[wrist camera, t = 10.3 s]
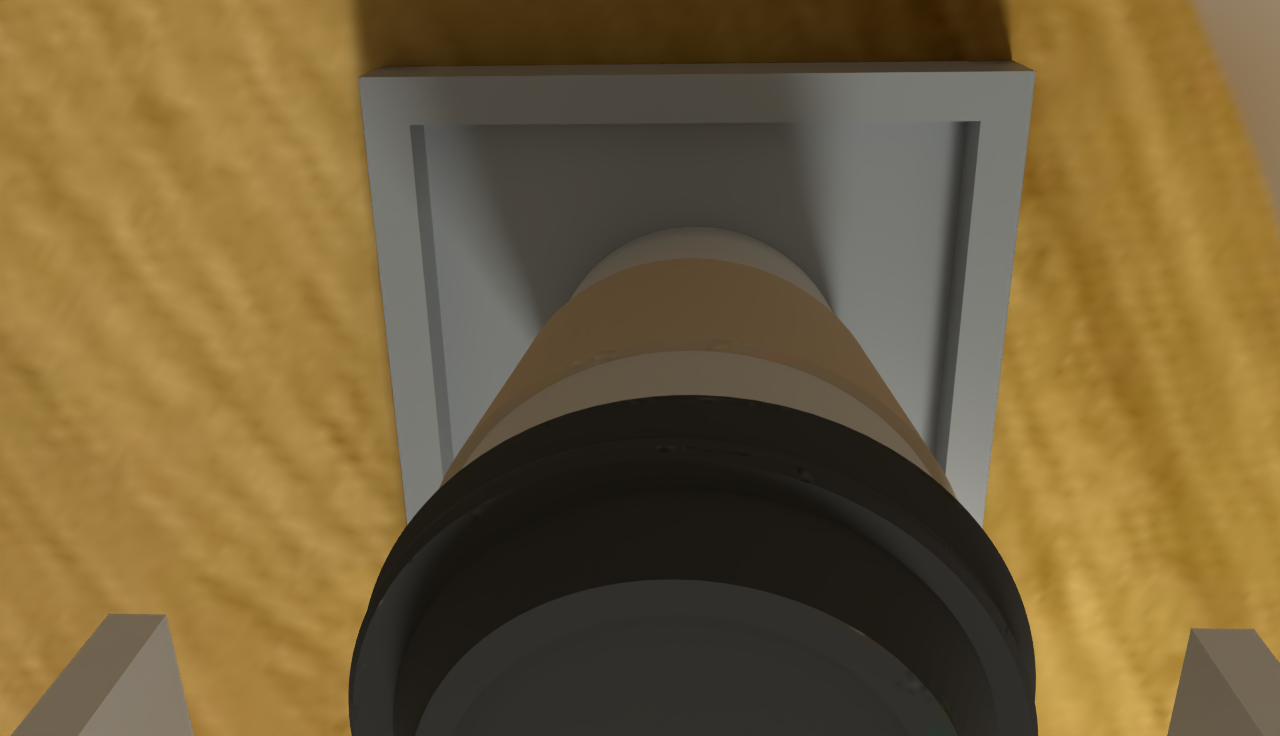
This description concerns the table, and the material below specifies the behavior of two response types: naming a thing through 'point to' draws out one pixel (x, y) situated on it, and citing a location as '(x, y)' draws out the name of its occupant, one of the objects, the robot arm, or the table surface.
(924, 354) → the tray
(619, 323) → the coffee cup
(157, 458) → the table surface
